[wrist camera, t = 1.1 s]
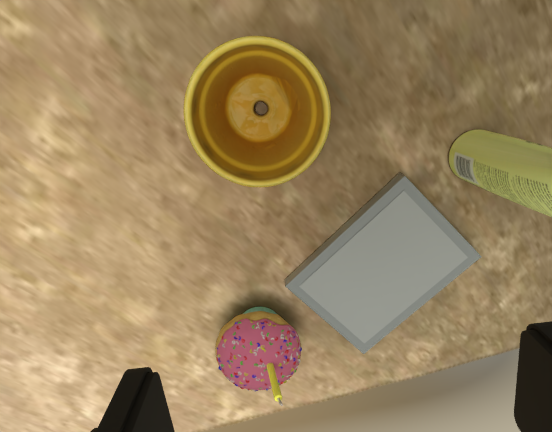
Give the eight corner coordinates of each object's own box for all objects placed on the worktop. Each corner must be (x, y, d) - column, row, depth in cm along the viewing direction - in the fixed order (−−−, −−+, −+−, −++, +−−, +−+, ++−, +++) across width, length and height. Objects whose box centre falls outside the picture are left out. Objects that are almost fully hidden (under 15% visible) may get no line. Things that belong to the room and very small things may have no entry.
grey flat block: (399, 172, 40) (405, 176, 38) (474, 250, 43) (481, 257, 41) (284, 279, 43) (285, 286, 42) (360, 345, 46) (363, 354, 45)
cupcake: (289, 284, 44) (297, 357, 32) (305, 350, 46) (317, 438, 35) (211, 300, 44) (192, 378, 33) (231, 364, 47) (219, 457, 35)
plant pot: (323, 53, 36) (342, 44, 27) (308, 167, 40) (320, 195, 30) (206, 40, 36) (184, 26, 26) (200, 157, 39) (179, 181, 30)
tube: (510, 129, 39) (732, 175, 20) (498, 181, 40) (695, 268, 22) (451, 127, 39) (620, 171, 20) (442, 179, 40) (591, 266, 22)
